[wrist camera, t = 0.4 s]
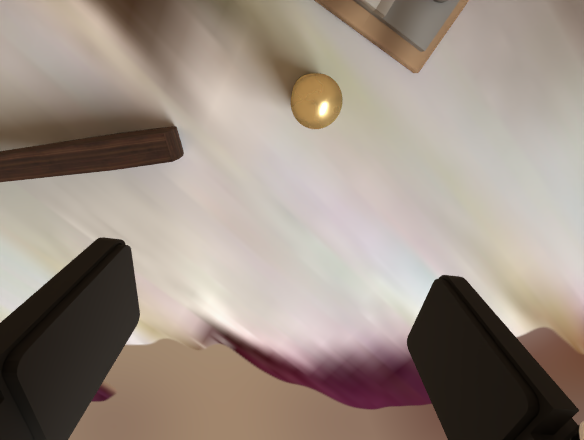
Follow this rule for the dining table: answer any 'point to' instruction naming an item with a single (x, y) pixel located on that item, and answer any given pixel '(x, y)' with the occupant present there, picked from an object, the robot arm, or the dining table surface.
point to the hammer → (92, 154)
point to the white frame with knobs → (399, 25)
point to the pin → (316, 100)
